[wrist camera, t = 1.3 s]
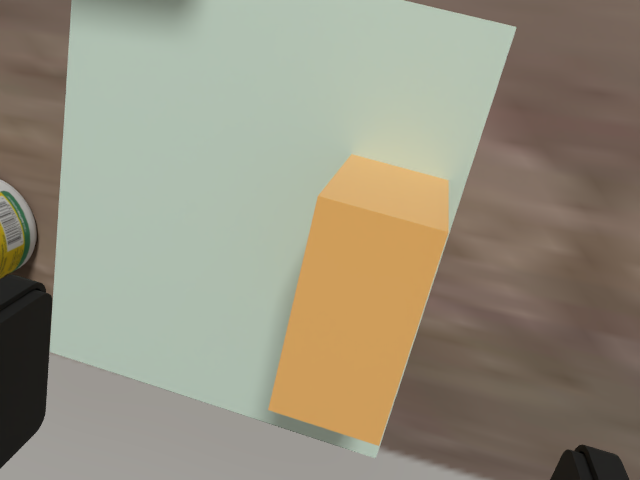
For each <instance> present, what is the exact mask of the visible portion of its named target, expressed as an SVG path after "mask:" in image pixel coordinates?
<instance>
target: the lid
mask: <svg viewBox="0 0 640 480" xmlns="http://www.w3.org/2000/svg"><path fill="white" fill-rule="evenodd" d="M515 30H516V27H514V26H510V25H505V24H501V23H497V22H493V21H489V20H484V19H480V18H476V17H472V16H467V15H463V14H459V13H455V12H450V11H446V10H442V9H438V8H433V7H429V6H425V5H421V4H417V3H412V2H408V1H404V0H72V5H71V20H70V36H69V52H68V68H67V84H66V100H65V116H64V132H63V148H62V164H61V180H60V195H59V211H58V227H57V243H56V259H55V275H54V291H53V307H52V323H51V339H50V352H52V353H55V354H58V355H61V356H64V357H67V358H70V359H73V360H76V361H79V362H82V363H85V364H88V365H92V366H95V367H98V368H101V369H104V370H107V371H110V372H113V373H116V374H119V375H122V376H125V377H128V378H131V379H134V380H137V381H140V382H144V383H147V384H150V385H153V386H156V387H159V388H162V389H165V390H168V391H171V392H175V393H177V394H180V395H183V396H186V397H189V398H193V399H195V400H199V401H202V402H205V403H208V404H211V405H214V406H217V407H220V408H223V409H226V410H229V411H232V412H235V413H238V414H241V415H244V416H247V417H251V418H254V419H257V420H260V421H263V422H266V423H269V424H272V425H275V426H278V427H281V428H284V429H288V430H290V431H293V432H296V433H299V434H302V435H306V436H309V437H312V438H315V439H318V440H321V441H324V442H327V443H330V444H333V445H336V446H340V447H342V448H345V449H348V450H352V451H354V452H357V453H361V454H364V455H367V456H370V457H373V458H376V456H377V453H378V450H379V447H380V444H381V441H382V438H383V435H384V432H385V428H386V425H387V422H388V419H389V416H390V413H391V410H392V407H393V404H394V401H395V398H396V395H397V392H398V389H399V386H400V383H401V380H402V376H403V373H404V370H405V367H406V364H407V361H408V358H409V355H410V352H411V349H412V346H413V343H414V340H415V337H416V334H417V331H418V327H419V324H420V321H421V318H422V315H423V312H424V309H425V306H426V303H427V300H428V297H429V294H430V291H431V288H432V285H433V282H434V278H435V275H436V272H437V269H438V266H439V263H440V260H441V257H442V254H443V251H444V248H445V245H446V242H447V239H448V236H449V233H450V229H451V226H452V223H453V220H454V217H455V214H456V211H457V208H458V205H459V202H460V199H461V196H462V193H463V190H464V187H465V184H466V180H467V177H468V174H469V171H470V168H471V165H472V162H473V159H474V156H475V153H476V150H477V147H478V144H479V141H480V138H481V135H482V131H483V128H484V125H485V122H486V119H487V116H488V113H489V110H490V107H491V104H492V101H493V98H494V95H495V92H496V89H497V86H498V82H499V79H500V76H501V73H502V70H503V67H504V64H505V61H506V58H507V55H508V52H509V49H510V46H511V43H512V40H513V37H514V33H515Z"/></svg>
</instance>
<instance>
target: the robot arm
mask: <svg viewBox="0 0 640 480" xmlns="http://www.w3.org/2000/svg"><path fill="white" fill-rule="evenodd" d="M51 315H52V297H51V295H50V294H48V293H46V289H45V286H44V285H43V284H42V283H39V282H36V281H33V280H29V279H26V278H23V277H19V276H16V275H8V276H5V277H4V278H2V279H0V468H1V467H2V466H3V465H4V464H5V463H6V462H7V461H8V460H9V459H10V458H11V457H12V456H13V455H14V454H15V453H16V452H17V451H18V450H19V449H20V448H21V447H22V446H23V445H24V444H25V443H26V442H27V441H28V440H29V439H30V438H31V437H32V436H33V435H34V434H35V433H36V432H37V431H38V429H39V427H40V426H41V424H42V422H43V420H44V416H45V411H46V396H47V379H48V363H49V347H50V331H51ZM550 480H629V478H628V475H627V473H626V471H625V468H624V466H623V464H622V462H621V460H620V458H619V457H618V456H617V455H615V454H613V453H609V452H606V451H603V450H599V449H596V448H592V447H589V446H586V445H579V446H578V447H577V448H576V449H575V451H572V450H566V451H565V452H564V453H563V455H562V456H561V458H560V460H559V463H558V465H557V467H556V469H555V471H554V473H553V475H552V477H551V479H550Z"/></svg>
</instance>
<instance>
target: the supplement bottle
mask: <svg viewBox="0 0 640 480" xmlns="http://www.w3.org/2000/svg"><path fill="white" fill-rule="evenodd" d="M36 239H37V232H36V224H35V220H34V217H33V214H32V211H31V209H30V207H29V206H28V204H27V203H26V201H25V199H24V198H23V197H22V196H21V195H20V194H19V192H18V191H17V190H15V189H14V188H13V187H12V186H11V185H9V184H8V183H6V182H4V181H3V180H1V179H0V278H2V277H4V276H6V275H8V274H10V273H11V272H13V271H15V270H17V269H18V268H20V267H21V266H23V265H24V264H25V263H26V262H27V261H28V260H29V258H30V257H31V255H32V253H33V250H34V247H35V244H36Z"/></svg>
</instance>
